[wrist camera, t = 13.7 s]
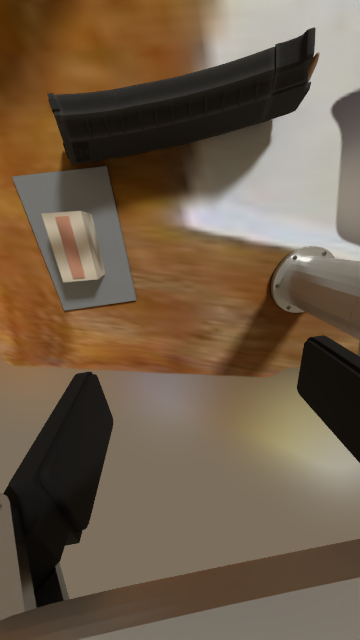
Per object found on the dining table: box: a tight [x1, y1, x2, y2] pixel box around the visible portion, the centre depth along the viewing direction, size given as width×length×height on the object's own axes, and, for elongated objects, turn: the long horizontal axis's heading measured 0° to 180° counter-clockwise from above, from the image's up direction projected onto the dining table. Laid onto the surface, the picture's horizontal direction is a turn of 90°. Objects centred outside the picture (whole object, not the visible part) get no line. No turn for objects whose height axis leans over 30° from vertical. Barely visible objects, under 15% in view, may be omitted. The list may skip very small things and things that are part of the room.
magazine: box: [47, 27, 320, 166], centre depth 22 cm, size 17×3×30 cm
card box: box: [41, 211, 105, 282], centre depth 29 cm, size 9×5×5 cm, turn 4°
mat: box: [12, 166, 137, 311], centre depth 31 cm, size 13×20×1 cm, turn 7°
